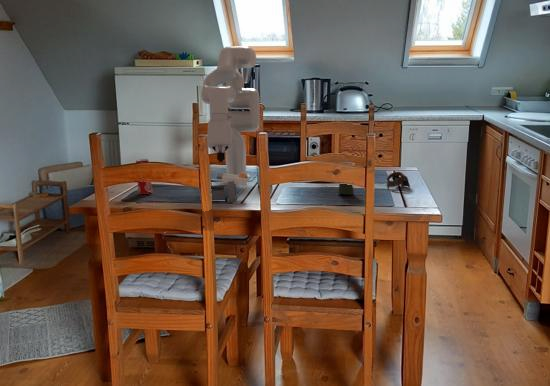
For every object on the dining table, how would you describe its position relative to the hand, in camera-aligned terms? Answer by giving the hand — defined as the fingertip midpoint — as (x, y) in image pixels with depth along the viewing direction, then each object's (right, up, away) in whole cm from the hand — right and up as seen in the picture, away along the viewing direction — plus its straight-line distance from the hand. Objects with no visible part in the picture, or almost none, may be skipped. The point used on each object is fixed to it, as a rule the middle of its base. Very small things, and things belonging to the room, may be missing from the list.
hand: (221, 161), depth 243 cm
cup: (-1, -15, -3) cm, 16 cm away
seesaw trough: (+5, -8, -2) cm, 10 cm away
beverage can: (-33, -14, +9) cm, 37 cm away
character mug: (+52, -14, 0) cm, 54 cm away
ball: (+9, -6, -5) cm, 12 cm away
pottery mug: (+75, -11, +10) cm, 77 cm away
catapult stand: (+5, -15, -3) cm, 16 cm away
